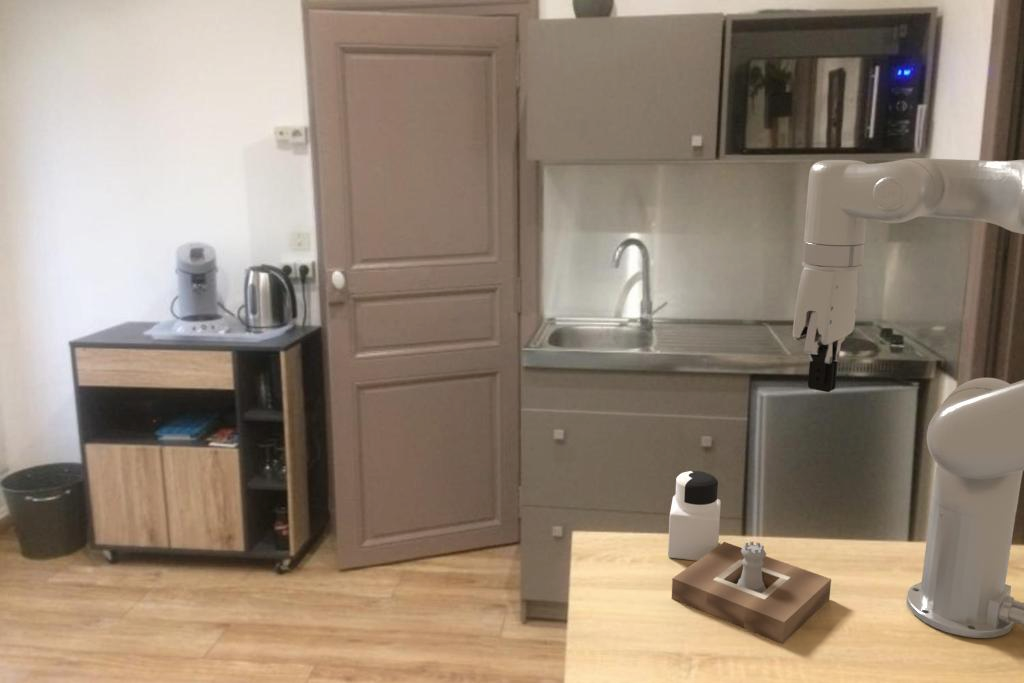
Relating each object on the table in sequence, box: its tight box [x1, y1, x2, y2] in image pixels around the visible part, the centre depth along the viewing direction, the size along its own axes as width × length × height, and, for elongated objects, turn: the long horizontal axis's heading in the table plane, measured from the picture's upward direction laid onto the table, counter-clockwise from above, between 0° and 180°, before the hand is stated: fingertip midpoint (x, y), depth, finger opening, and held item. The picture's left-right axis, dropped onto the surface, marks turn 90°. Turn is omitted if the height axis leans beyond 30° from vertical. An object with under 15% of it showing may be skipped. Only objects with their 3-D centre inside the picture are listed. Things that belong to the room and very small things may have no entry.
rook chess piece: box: [736, 541, 767, 593], centre depth 118 cm, size 4×4×8 cm
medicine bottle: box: [667, 470, 722, 562], centre depth 131 cm, size 7×7×12 cm
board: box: [671, 541, 832, 645], centre depth 119 cm, size 16×14×3 cm
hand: (821, 388), depth 121 cm, fingers closed
